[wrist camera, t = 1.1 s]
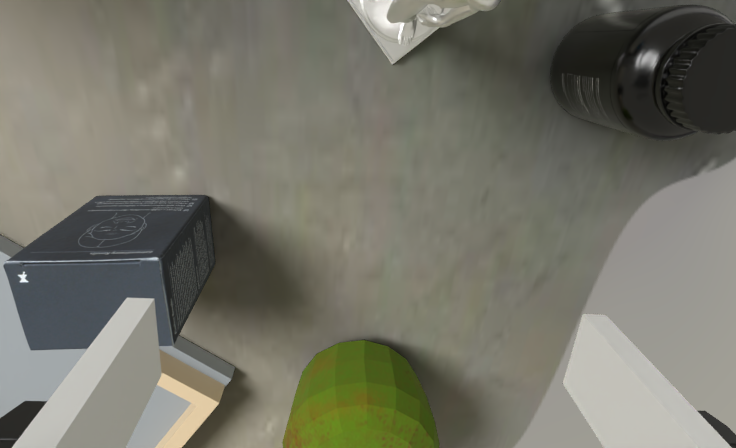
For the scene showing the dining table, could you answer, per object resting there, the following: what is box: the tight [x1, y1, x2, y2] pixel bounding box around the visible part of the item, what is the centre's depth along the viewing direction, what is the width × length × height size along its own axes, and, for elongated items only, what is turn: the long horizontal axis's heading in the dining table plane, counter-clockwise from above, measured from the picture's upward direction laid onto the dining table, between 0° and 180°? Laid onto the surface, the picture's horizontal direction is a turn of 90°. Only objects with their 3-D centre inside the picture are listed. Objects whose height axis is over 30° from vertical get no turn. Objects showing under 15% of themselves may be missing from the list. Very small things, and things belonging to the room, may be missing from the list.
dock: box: [0, 235, 235, 448], centre depth 37 cm, size 24×16×4 cm, turn 52°
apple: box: [282, 340, 439, 448], centre depth 36 cm, size 11×11×11 cm
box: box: [3, 195, 215, 350], centre depth 30 cm, size 8×6×11 cm
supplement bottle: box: [550, 5, 736, 141], centre depth 27 cm, size 7×7×12 cm
